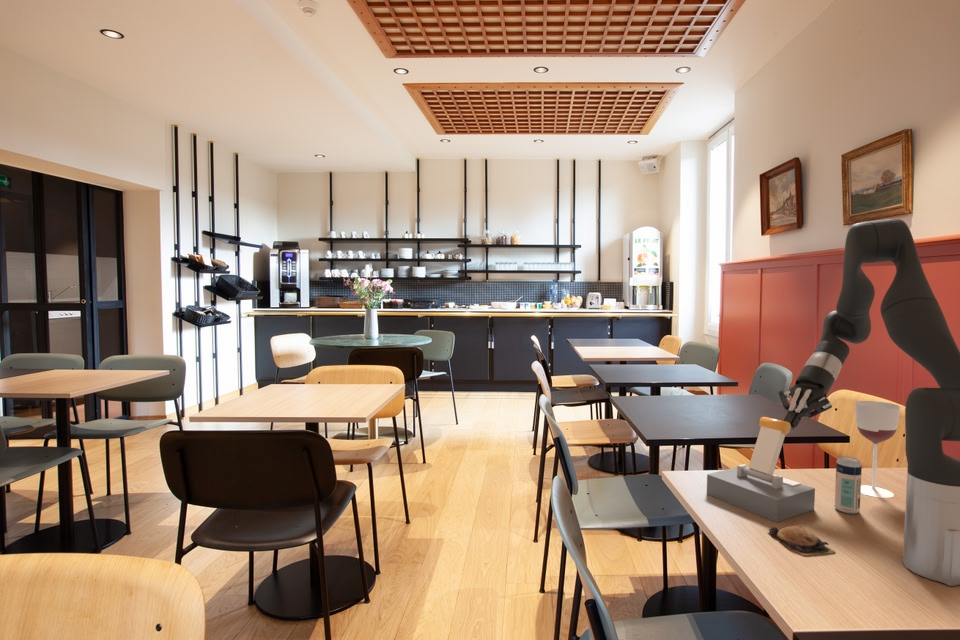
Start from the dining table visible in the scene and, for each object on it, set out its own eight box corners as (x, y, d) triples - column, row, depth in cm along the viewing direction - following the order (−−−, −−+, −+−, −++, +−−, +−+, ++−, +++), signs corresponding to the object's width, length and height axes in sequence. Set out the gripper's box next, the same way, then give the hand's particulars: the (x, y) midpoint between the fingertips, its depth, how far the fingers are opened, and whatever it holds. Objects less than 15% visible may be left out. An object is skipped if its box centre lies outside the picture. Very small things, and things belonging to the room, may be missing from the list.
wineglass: (843, 488, 136) (847, 403, 134) (866, 482, 140) (869, 399, 138) (881, 500, 128) (885, 410, 126) (904, 494, 132) (908, 406, 130)
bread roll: (839, 556, 102) (840, 538, 102) (800, 560, 101) (801, 541, 101) (797, 531, 113) (798, 514, 113) (762, 534, 111) (762, 517, 111)
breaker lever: (748, 475, 130) (766, 418, 133) (775, 485, 124) (794, 424, 126) (741, 472, 129) (759, 414, 131) (768, 481, 123) (787, 420, 125)
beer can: (851, 506, 124) (854, 456, 123) (864, 515, 119) (866, 463, 119) (830, 505, 125) (832, 455, 124) (841, 514, 120) (844, 462, 119)
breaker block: (743, 484, 138) (744, 455, 138) (814, 509, 123) (815, 477, 122) (706, 494, 132) (707, 464, 131) (776, 522, 116) (777, 488, 115)
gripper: (787, 360, 141) (756, 411, 136) (841, 367, 129) (809, 423, 124) (799, 379, 144) (769, 429, 139) (852, 387, 132) (822, 442, 127)
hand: (788, 426), depth 131 cm, fingers closed
